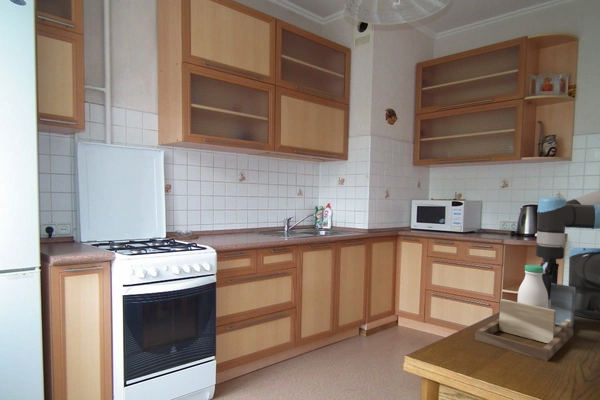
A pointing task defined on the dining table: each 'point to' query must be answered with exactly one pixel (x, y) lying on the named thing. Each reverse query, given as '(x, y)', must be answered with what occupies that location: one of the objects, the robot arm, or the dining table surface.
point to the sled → (539, 315)
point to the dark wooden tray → (533, 351)
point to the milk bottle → (533, 288)
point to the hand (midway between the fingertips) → (546, 317)
